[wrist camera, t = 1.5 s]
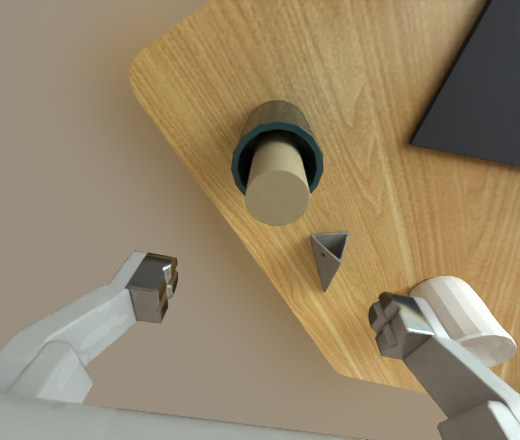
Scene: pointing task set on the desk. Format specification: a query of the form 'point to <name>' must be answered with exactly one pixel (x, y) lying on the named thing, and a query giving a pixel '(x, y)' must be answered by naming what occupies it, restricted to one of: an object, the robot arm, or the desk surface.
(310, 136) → the teal cup
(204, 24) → the desk surface
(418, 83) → the desk surface
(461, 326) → the cup
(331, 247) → the grey triangular spike
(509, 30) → the mat
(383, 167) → the desk surface
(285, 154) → the peg
